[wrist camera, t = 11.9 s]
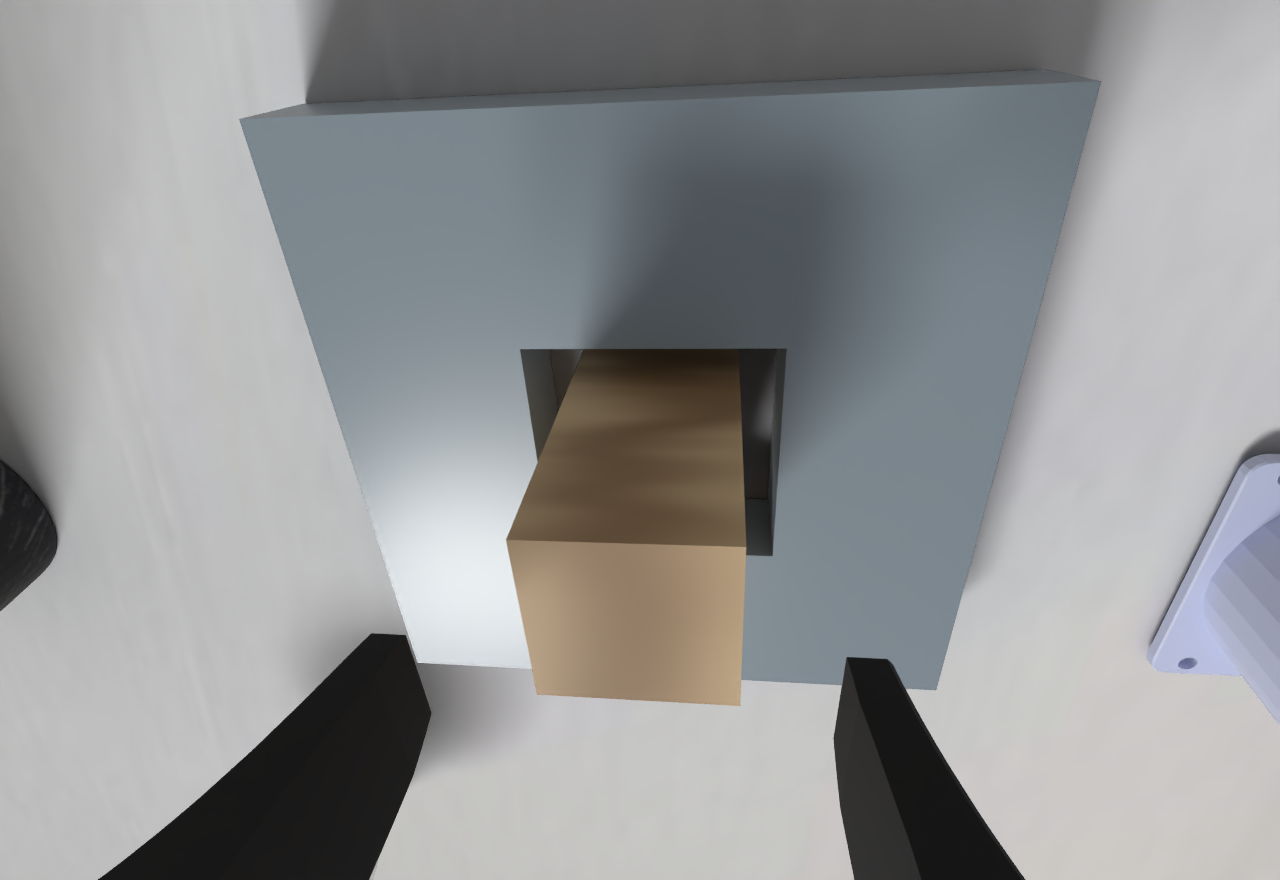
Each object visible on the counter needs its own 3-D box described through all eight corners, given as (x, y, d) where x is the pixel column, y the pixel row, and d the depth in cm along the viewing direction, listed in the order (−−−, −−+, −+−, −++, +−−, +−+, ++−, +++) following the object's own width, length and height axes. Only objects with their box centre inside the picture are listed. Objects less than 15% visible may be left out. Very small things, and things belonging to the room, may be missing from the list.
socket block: (1044, 69, 14) (1101, 81, 12) (916, 625, 22) (935, 690, 20) (304, 103, 16) (239, 119, 14) (444, 605, 24) (417, 662, 22)
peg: (738, 341, 18) (746, 547, 11) (735, 469, 20) (739, 705, 13) (586, 342, 18) (505, 539, 12) (599, 466, 20) (536, 694, 14)
